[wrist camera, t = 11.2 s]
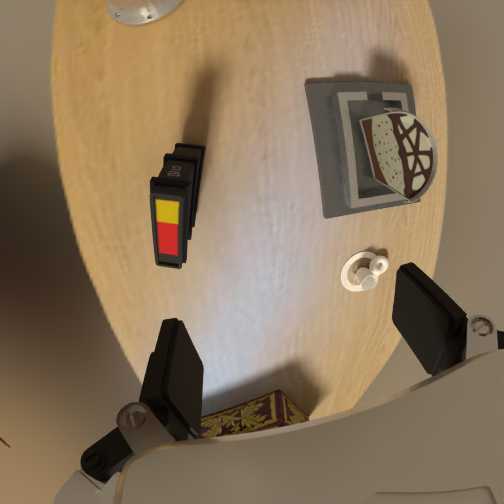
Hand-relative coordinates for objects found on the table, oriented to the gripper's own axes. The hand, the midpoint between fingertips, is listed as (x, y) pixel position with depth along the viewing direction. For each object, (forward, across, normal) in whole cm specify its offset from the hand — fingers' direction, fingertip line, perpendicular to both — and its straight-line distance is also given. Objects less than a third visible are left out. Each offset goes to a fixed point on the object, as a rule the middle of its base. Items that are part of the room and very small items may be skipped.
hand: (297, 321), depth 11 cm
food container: (+29, -21, -2) cm, 36 cm away
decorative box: (+30, +13, +60) cm, 68 cm away
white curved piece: (+31, -18, +21) cm, 42 cm away
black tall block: (+30, +9, -1) cm, 31 cm away
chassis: (+30, -19, -2) cm, 36 cm away
